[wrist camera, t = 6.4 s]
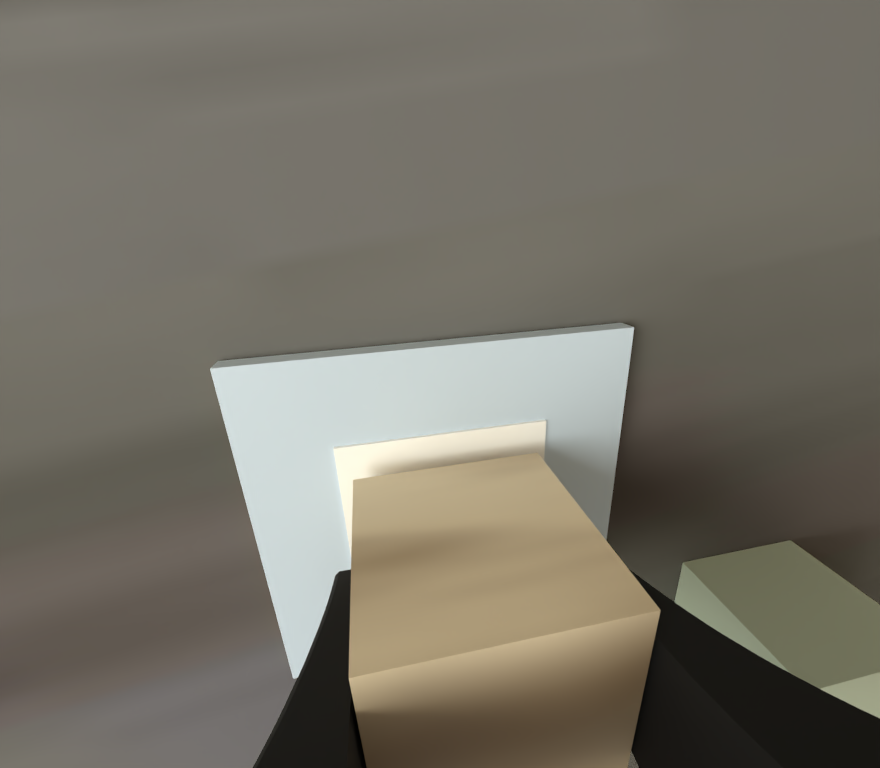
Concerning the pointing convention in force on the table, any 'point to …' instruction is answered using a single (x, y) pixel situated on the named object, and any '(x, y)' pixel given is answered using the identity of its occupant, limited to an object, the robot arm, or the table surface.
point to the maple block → (491, 623)
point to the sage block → (791, 616)
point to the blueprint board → (409, 436)
